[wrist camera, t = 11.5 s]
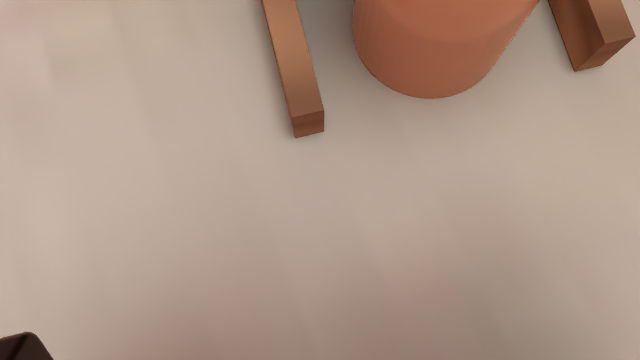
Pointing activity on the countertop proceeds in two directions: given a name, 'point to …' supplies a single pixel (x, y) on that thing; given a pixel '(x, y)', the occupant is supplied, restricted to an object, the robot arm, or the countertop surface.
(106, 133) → the countertop surface
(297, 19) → the brown wooden frame
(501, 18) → the jar
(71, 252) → the countertop surface
